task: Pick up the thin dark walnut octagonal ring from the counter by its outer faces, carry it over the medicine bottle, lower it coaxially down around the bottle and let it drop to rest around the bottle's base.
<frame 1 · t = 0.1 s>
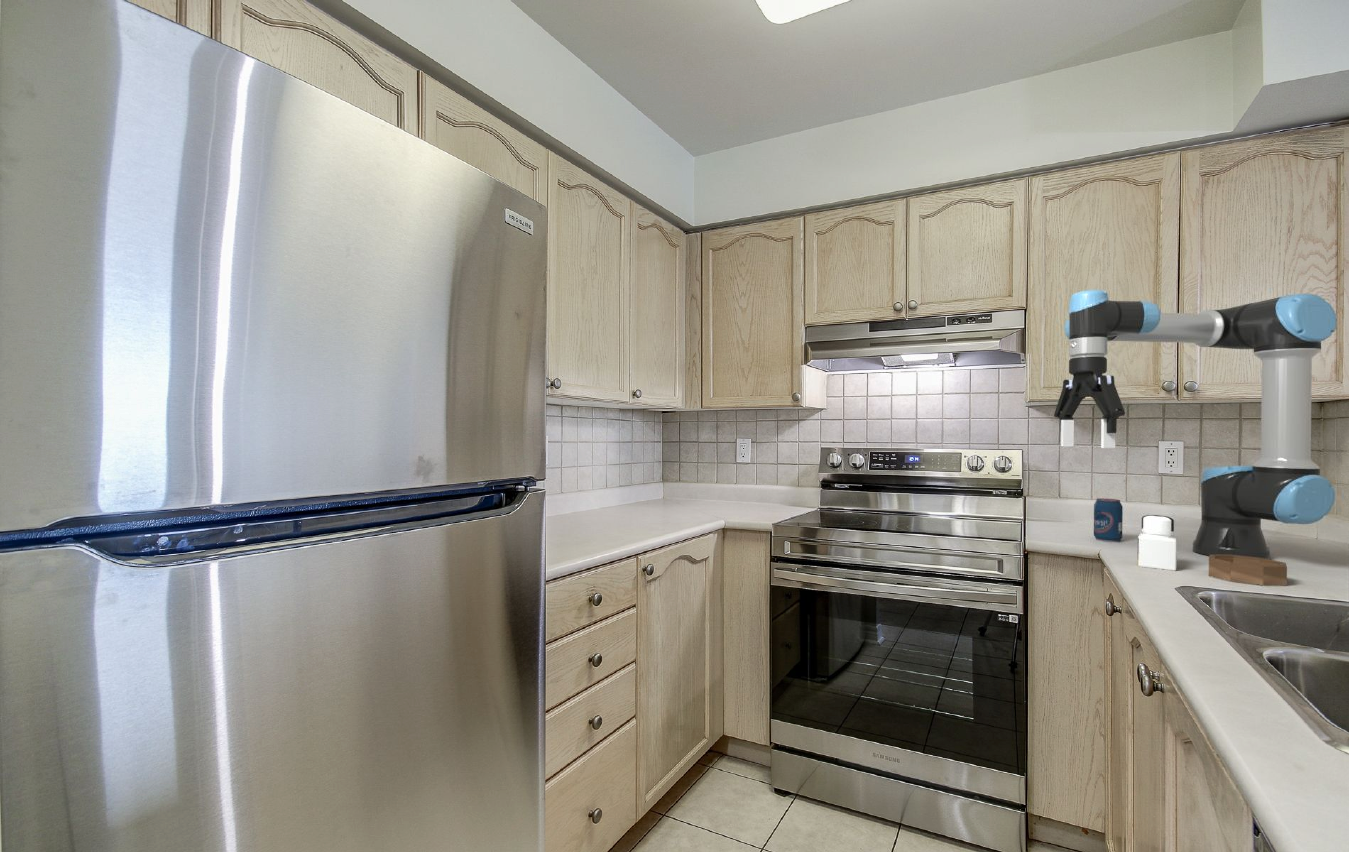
hand: (1086, 447, 148), 28 cm above the counter, tool pointing down, fingers open, 13 cm apart
medicine bottle: (1157, 567, 148), on the counter
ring: (1246, 578, 137), on the counter
soda can: (1107, 541, 184), on the counter
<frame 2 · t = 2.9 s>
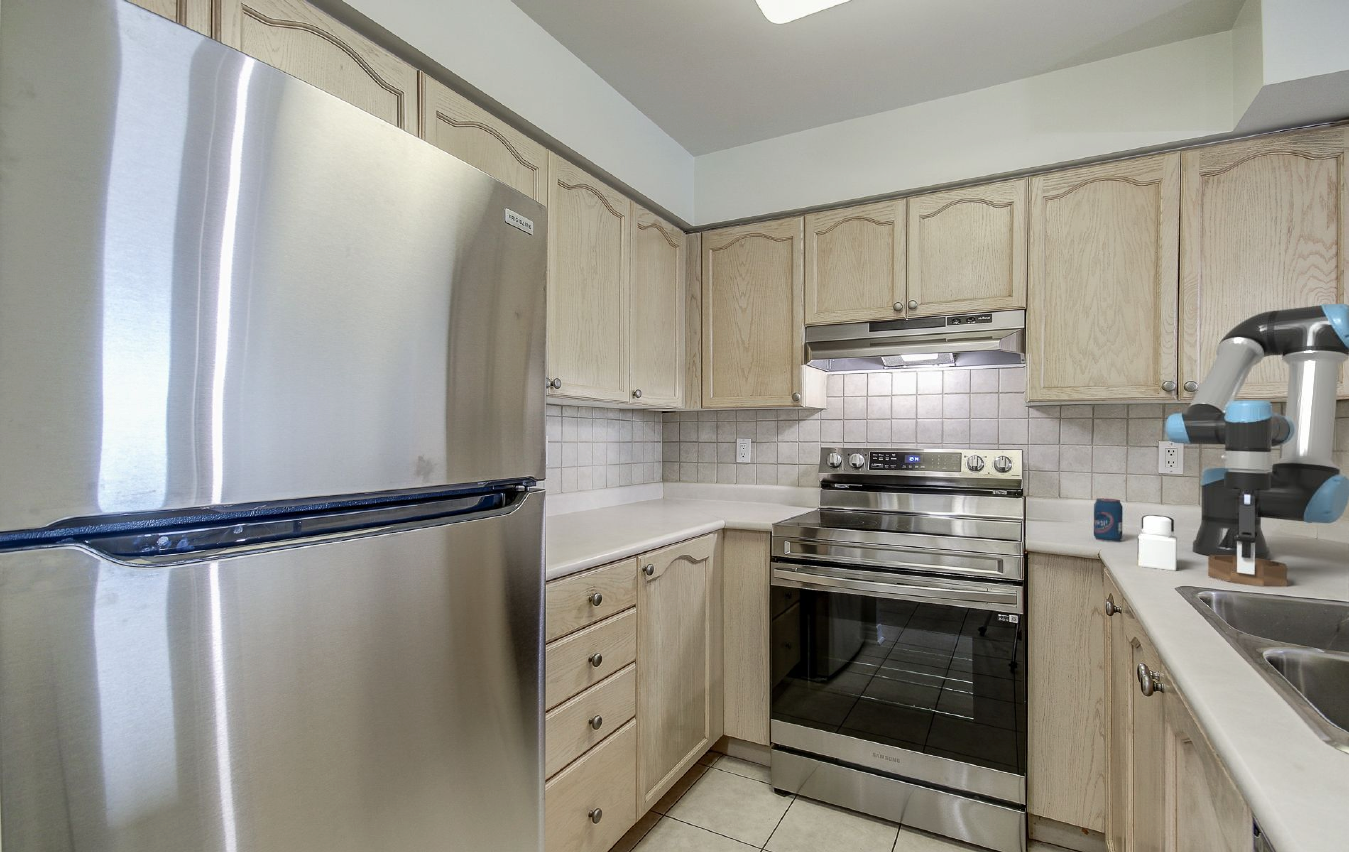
hand: (1245, 569, 136), 2 cm above the counter, tool pointing down, fingers open, 13 cm apart
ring: (1246, 579, 136), on the counter, touching gripper
everything else where it was.
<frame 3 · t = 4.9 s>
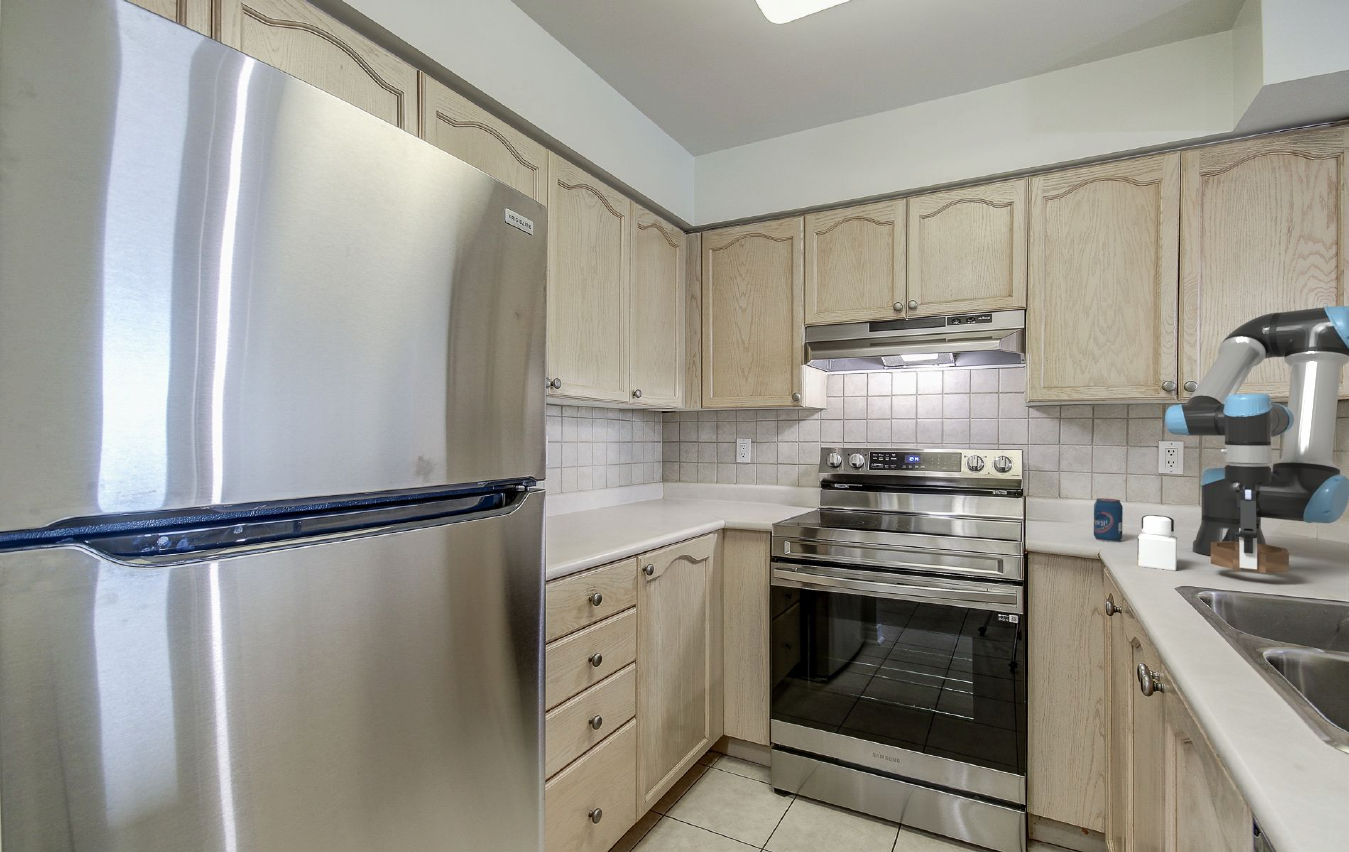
hand: (1247, 562, 137), 3 cm above the counter, tool pointing down, fingers closed on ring, 12 cm apart
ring: (1248, 565, 137), point 3 cm above the counter, touching gripper
everything else where it was.
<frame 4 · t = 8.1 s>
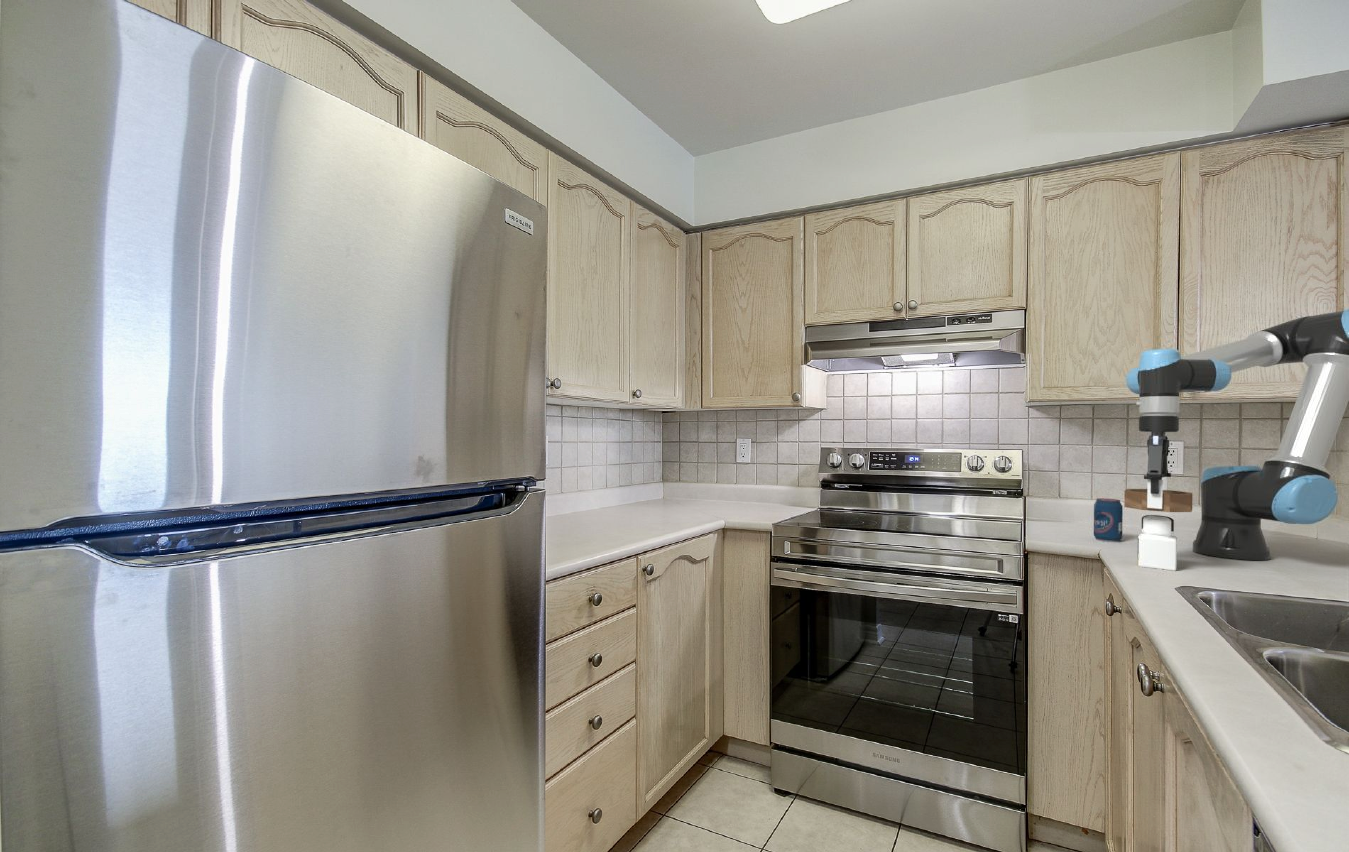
hand: (1157, 506, 148), 14 cm above the counter, tool pointing down, fingers closed on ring, 12 cm apart
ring: (1157, 508, 148), point 14 cm above the counter, touching gripper
everything else where it was.
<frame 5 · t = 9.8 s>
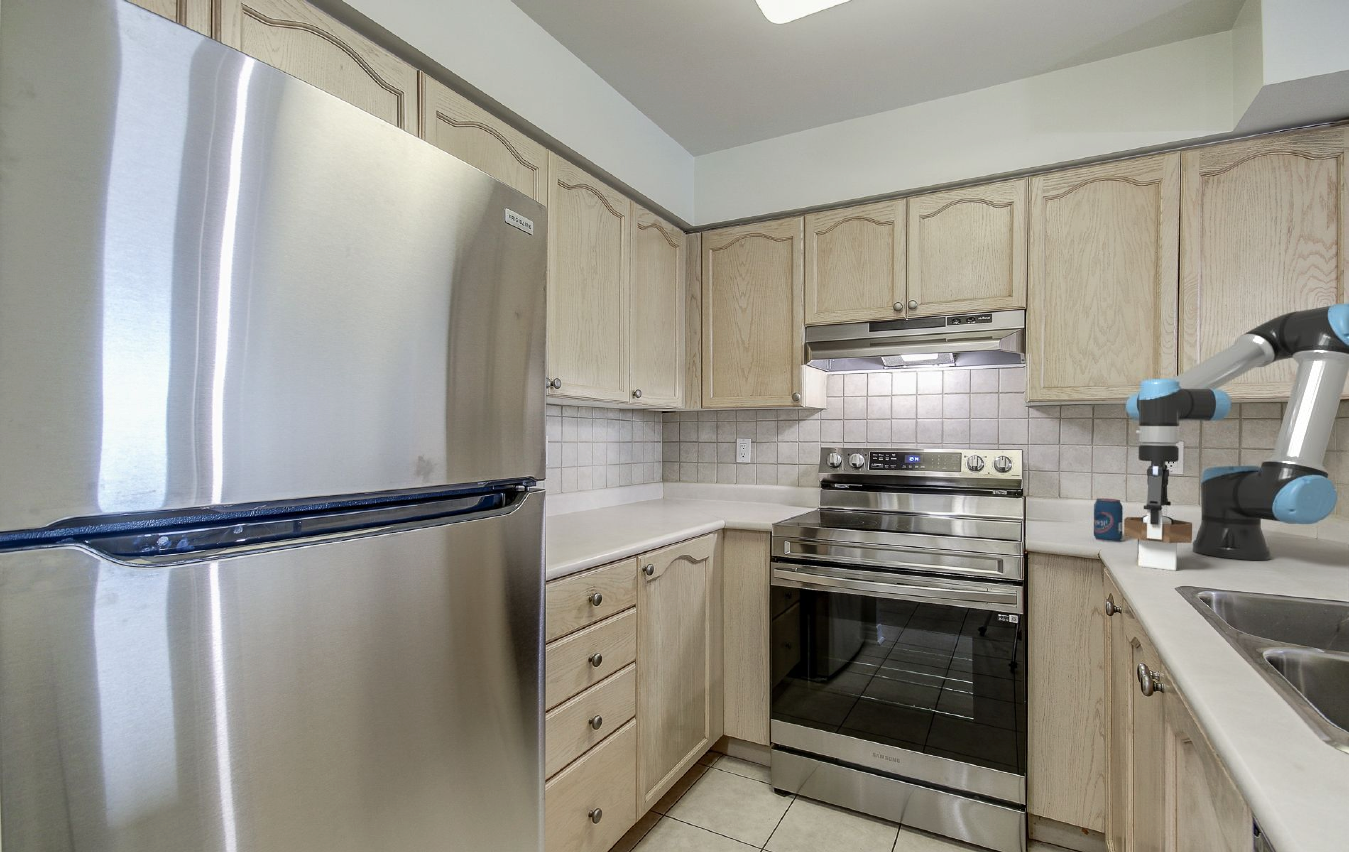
hand: (1157, 535, 148), 7 cm above the counter, tool pointing down, fingers closed on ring, 12 cm apart
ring: (1157, 537, 148), point 7 cm above the counter, touching gripper
everything else where it was.
when the fingers open (6 cm above the counter, at t = 11.2 s): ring drops 5 cm, on the counter.
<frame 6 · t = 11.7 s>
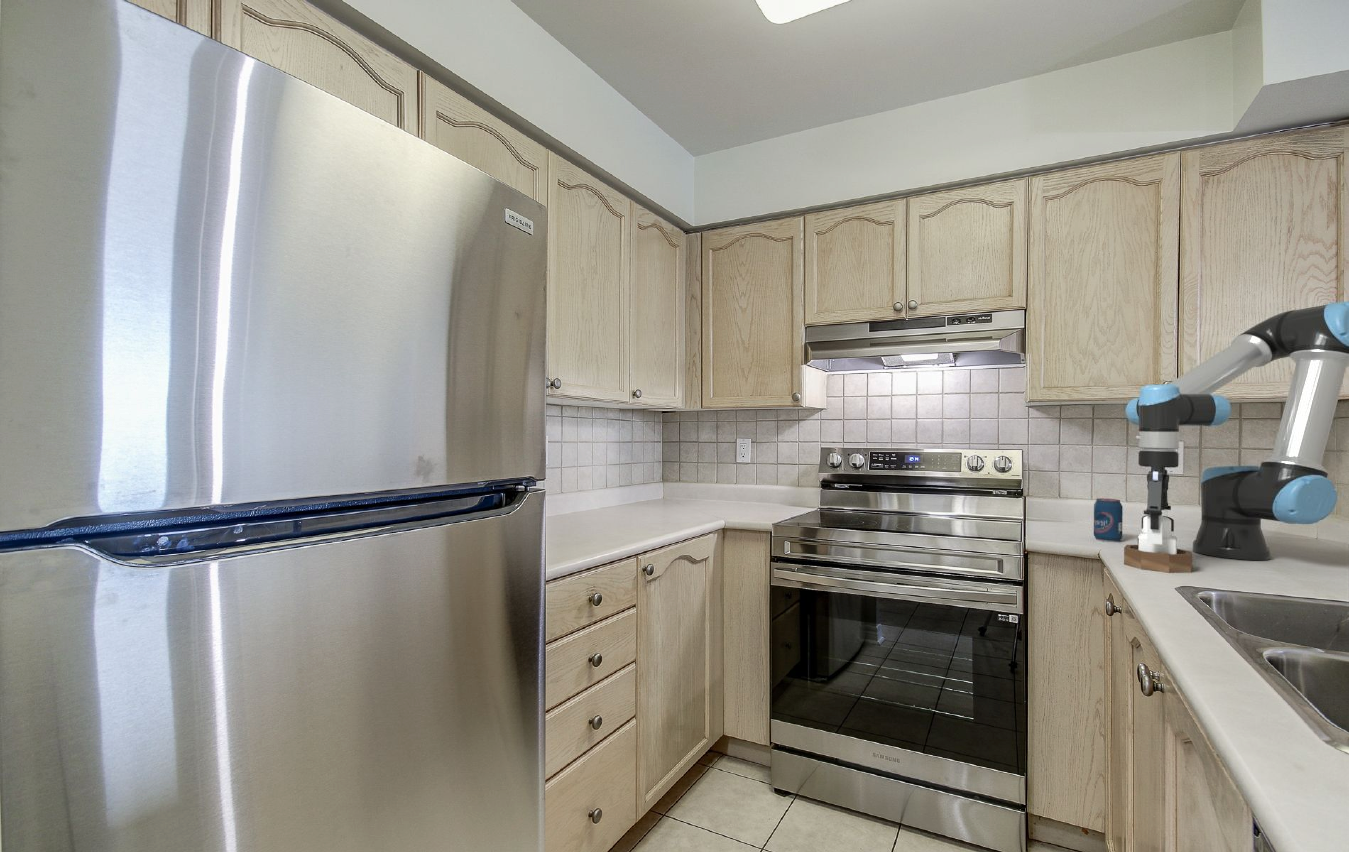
hand: (1157, 540, 148), 6 cm above the counter, tool pointing down, fingers open, 13 cm apart
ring: (1157, 566, 148), on the counter
everything else where it was.
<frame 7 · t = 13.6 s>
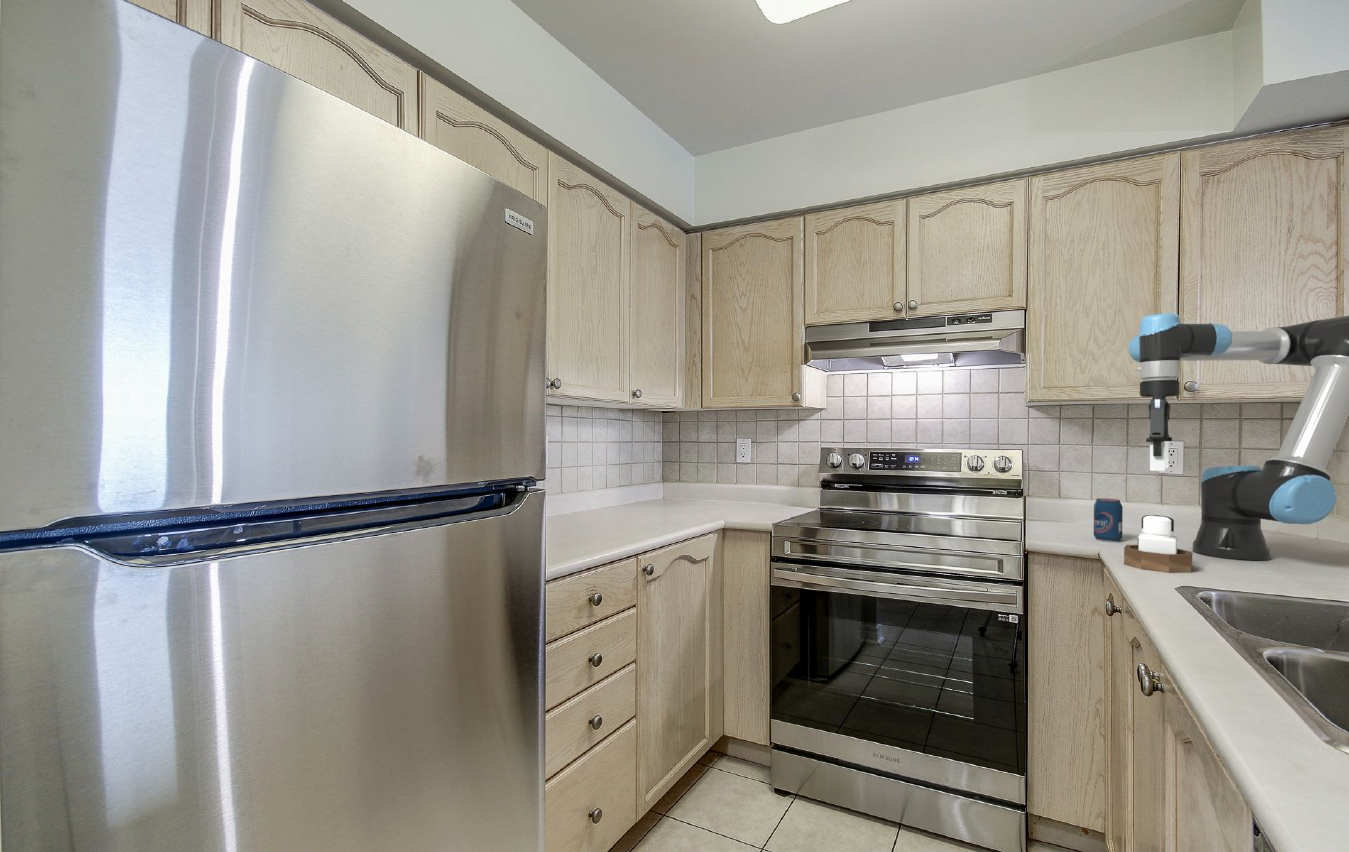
hand: (1159, 469, 149), 23 cm above the counter, tool pointing down, fingers open, 13 cm apart
nothing on the counter moved.
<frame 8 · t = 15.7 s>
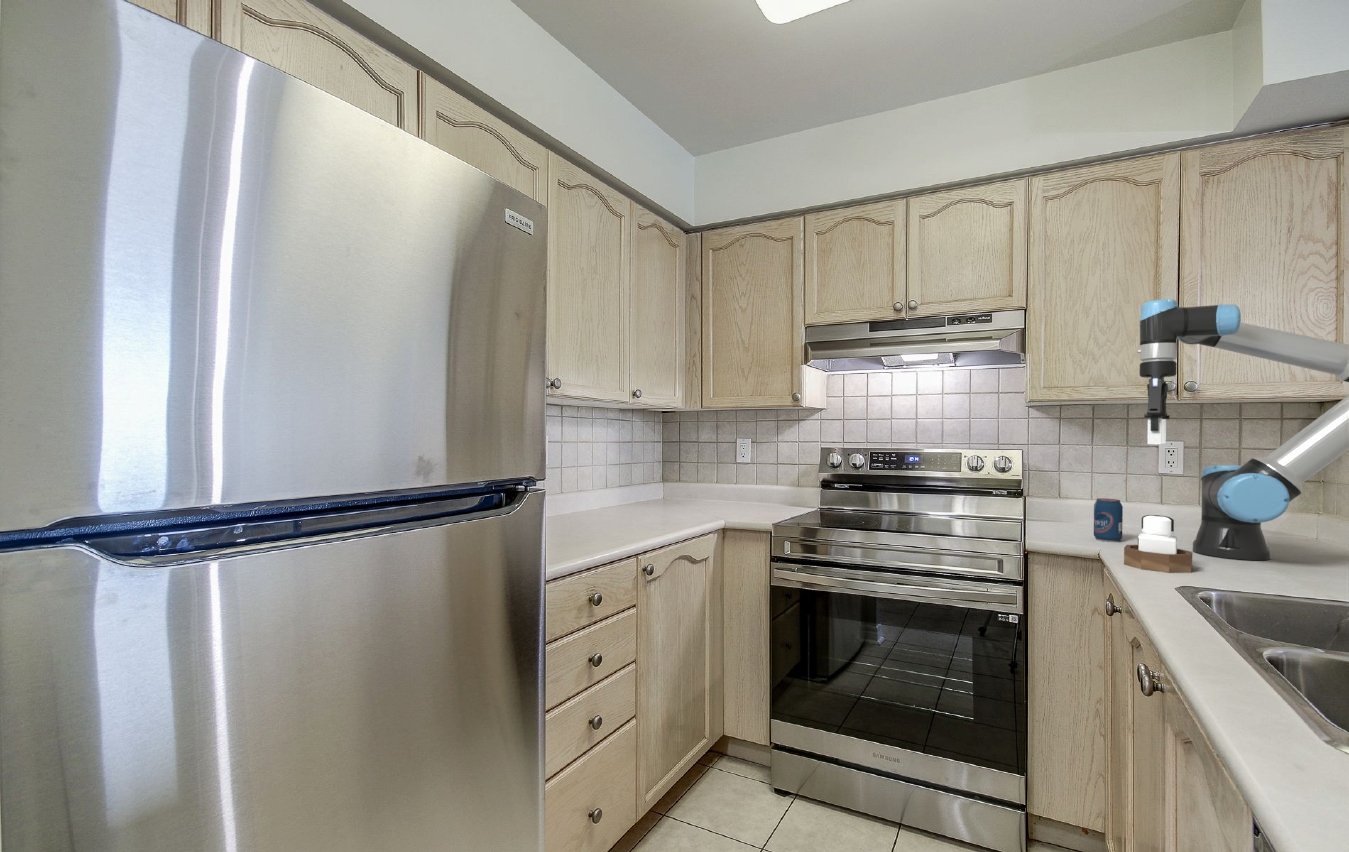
hand: (1157, 444, 161), 29 cm above the counter, tool pointing down, fingers open, 13 cm apart
nothing on the counter moved.
at the end: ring 0.2 cm from the medicine bottle (horizontally); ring on the counter; medicine bottle tilted 0° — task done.
